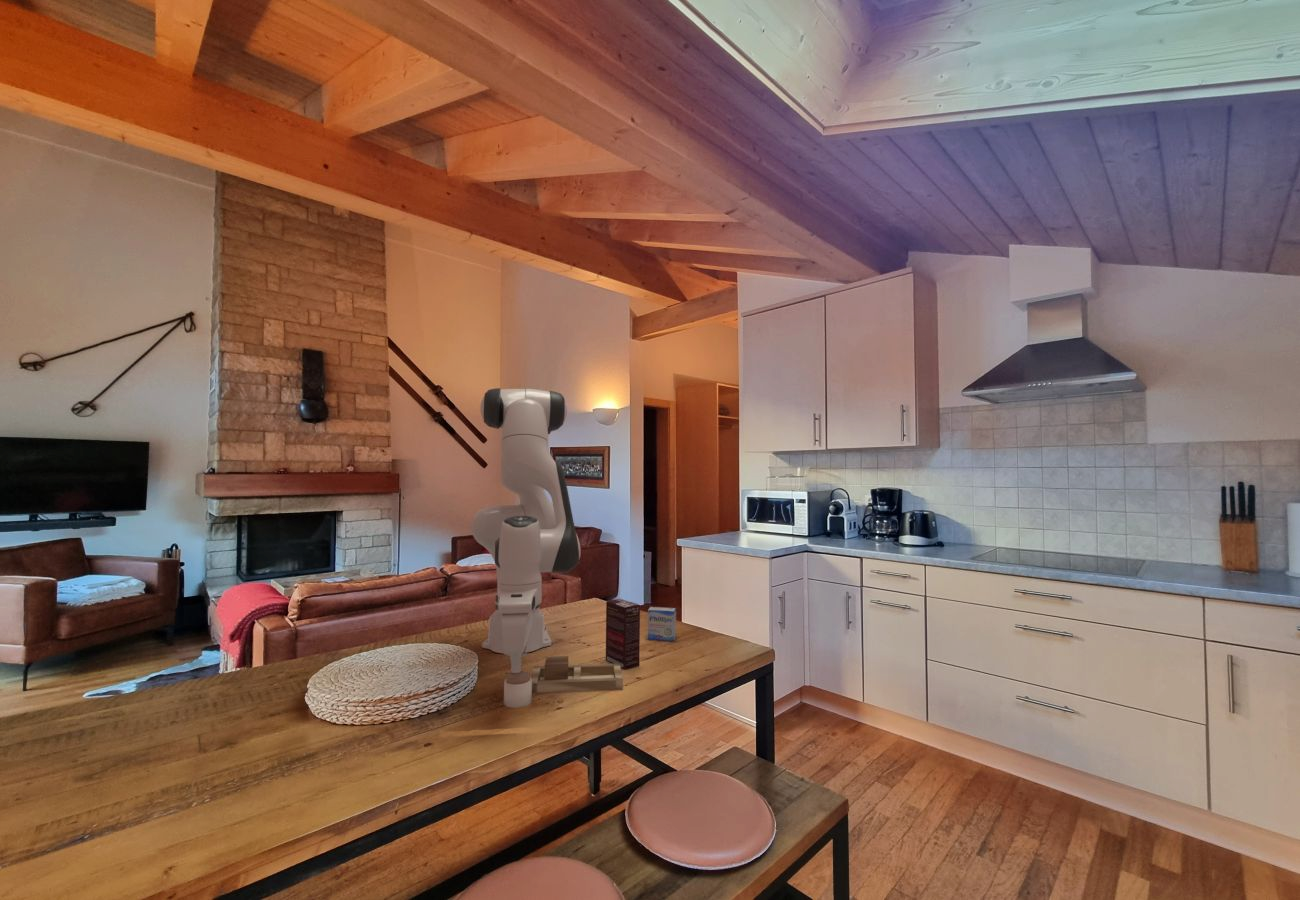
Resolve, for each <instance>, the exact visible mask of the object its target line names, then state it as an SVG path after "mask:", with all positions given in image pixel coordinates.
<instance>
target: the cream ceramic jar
mask: <svg viewBox="0 0 1300 900" xmlns="http://www.w3.org/2000/svg"><path fill="white" fill-rule="evenodd" d="M532 695H533V693H532V675H531V674H530V673H529V672H528V671H520V672H519V673H512V672H511V673H510V672H509V673H508V674H507V675H506V676H505V679H504V681H503V705H504V706H505V707H506V708H510V709H518V708H523V707H527V706H529V705H530V704H532V700H533V698H532V697H533V696H532Z"/></svg>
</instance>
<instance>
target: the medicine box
mask: <svg viewBox="0 0 1300 900" xmlns="http://www.w3.org/2000/svg"><path fill="white" fill-rule="evenodd" d="M676 636H677V608H676V607H660V606H650V607H649V608H648V610H647V640H648V641H659V642H660V641H661V642H663V641H664V642H675V639H676V638H677V637H676Z"/></svg>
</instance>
